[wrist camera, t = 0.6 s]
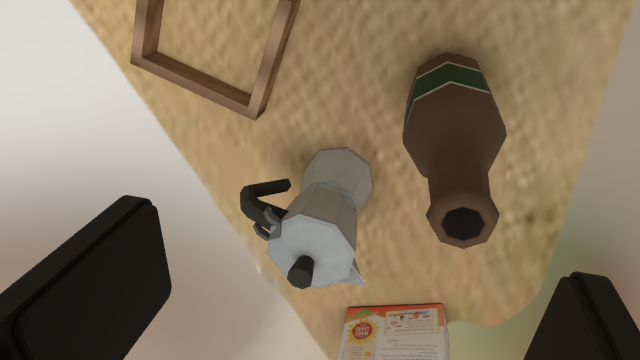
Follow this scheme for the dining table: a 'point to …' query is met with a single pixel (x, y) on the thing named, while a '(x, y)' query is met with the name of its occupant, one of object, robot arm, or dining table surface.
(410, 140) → the beer bottle
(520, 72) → the dining table surface
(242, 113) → the frame
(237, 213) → the dining table surface
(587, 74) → the dining table surface
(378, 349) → the cracker box
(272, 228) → the coffee maker
